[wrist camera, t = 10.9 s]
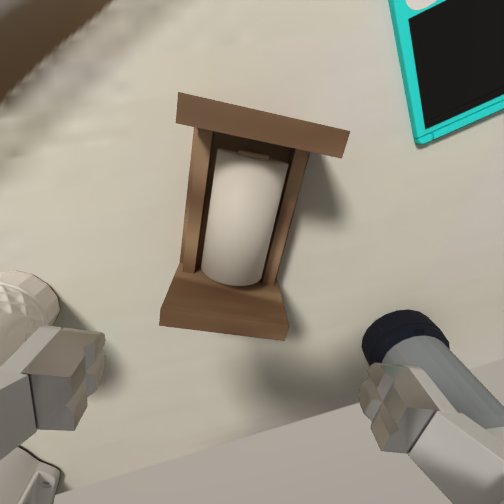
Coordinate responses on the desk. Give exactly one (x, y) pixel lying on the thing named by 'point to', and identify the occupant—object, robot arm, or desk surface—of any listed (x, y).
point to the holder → (197, 209)
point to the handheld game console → (449, 62)
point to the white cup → (23, 309)
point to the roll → (241, 215)
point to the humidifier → (432, 364)
